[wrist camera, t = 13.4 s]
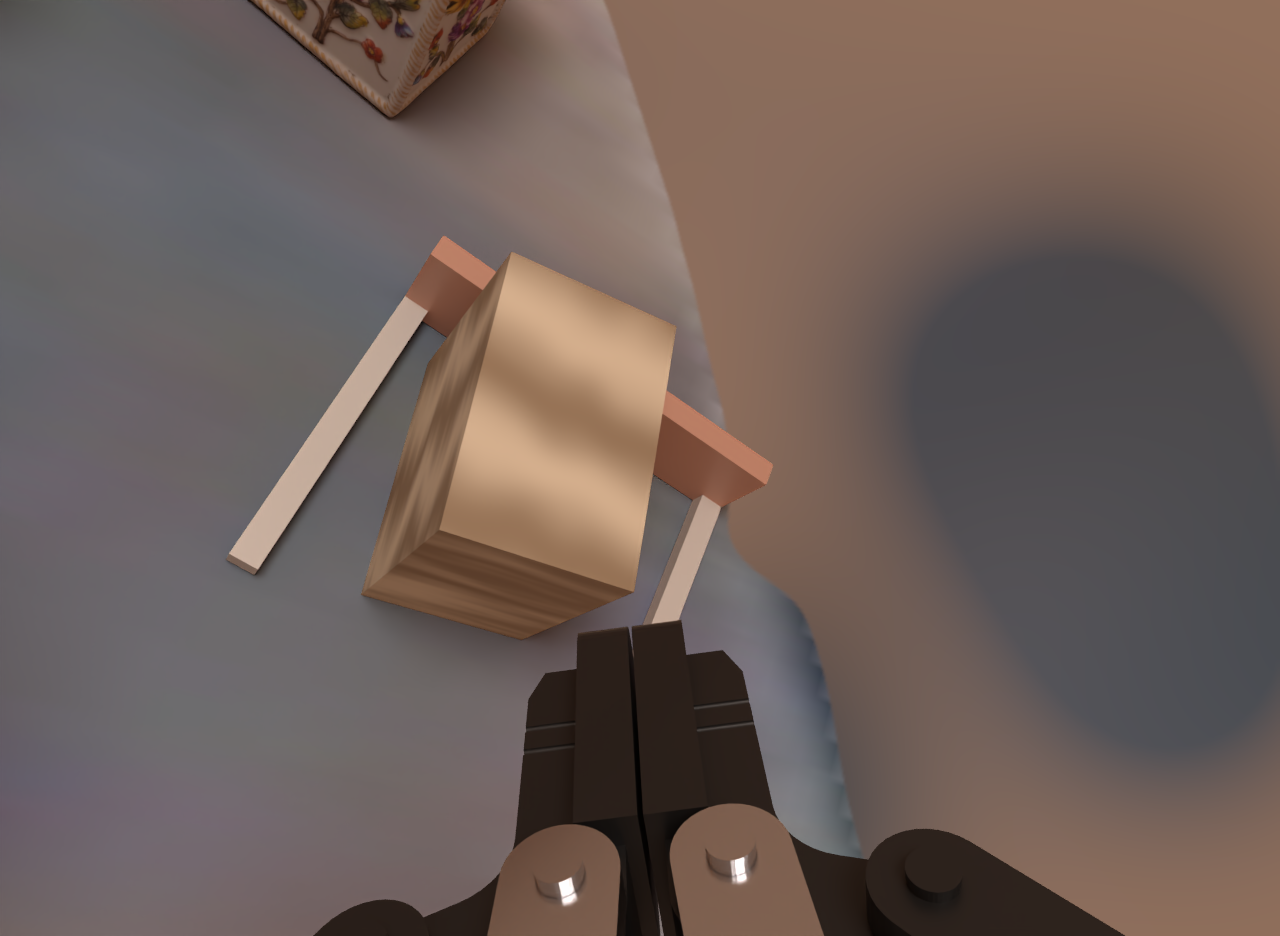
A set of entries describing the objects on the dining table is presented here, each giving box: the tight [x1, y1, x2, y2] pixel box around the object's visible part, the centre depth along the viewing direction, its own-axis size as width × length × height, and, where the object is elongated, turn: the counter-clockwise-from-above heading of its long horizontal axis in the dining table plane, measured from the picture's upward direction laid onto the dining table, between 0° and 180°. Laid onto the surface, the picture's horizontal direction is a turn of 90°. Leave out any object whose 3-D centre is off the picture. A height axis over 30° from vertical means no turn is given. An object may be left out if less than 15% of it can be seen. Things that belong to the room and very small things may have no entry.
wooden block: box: [361, 252, 676, 640], centre depth 48 cm, size 14×9×13 cm, turn 171°
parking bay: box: [226, 235, 773, 657], centre depth 51 cm, size 19×23×6 cm
